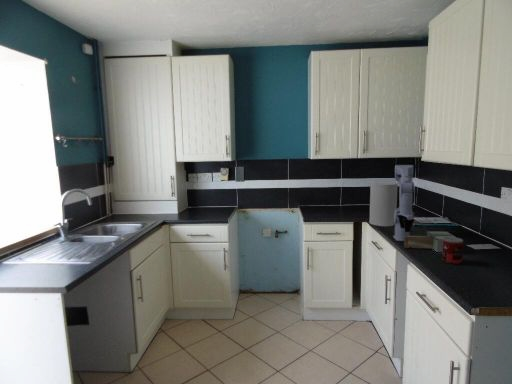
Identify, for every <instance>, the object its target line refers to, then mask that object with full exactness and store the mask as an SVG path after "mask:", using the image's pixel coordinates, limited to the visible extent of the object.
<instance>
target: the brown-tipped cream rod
mask: <svg viewBox="0 0 512 384" xmlns="http://www.w3.org/2000/svg"><path fill="white" fill-rule="evenodd" d="M403 247H404V248H405V249H433V237H432V236H427V235H410V236H404V241H403ZM410 247H411V248H410Z"/></svg>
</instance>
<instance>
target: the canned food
mask: <svg viewBox="0 0 512 384" xmlns="http://www.w3.org/2000/svg"><path fill="white" fill-rule="evenodd" d="M463 248H464V240H463V239H462V238H460V237H456V236H455V237H444V238H443V252H442V253H441V254H442V256H441V259H442V261H443V260H444V261H446V262H449V263H455V264H458V265H460V264H459V263H461V264H462V262H463V251H464V249H463Z"/></svg>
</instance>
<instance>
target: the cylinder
mask: <svg viewBox="0 0 512 384" xmlns="http://www.w3.org/2000/svg"><path fill="white" fill-rule="evenodd" d="M369 185H370V187H369V188H370V190H369V191H370V193H369V194H370V195H369V224H371V225H373V226H378V227H392V226H393V227H395V225H396V223H394V211H395V210H396V209H397V207H398V205H397V204H398V185H399V182H398V183H396V182H384V183H383V182H374V183H373V182H370V184H369Z"/></svg>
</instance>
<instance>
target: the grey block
mask: <svg viewBox="0 0 512 384" xmlns="http://www.w3.org/2000/svg"><path fill="white" fill-rule="evenodd" d="M425 232H426V233H425V234H426V236H432V237H433V248H432V250H433V249H434V250H435V251H436V252H443V238H444V237H456V236H455V235H453V234H451V233H449V232H448V231H429V230H428V231H425ZM434 250H433V251H434ZM435 251H434V252H435ZM436 252H435V253H436Z"/></svg>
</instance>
